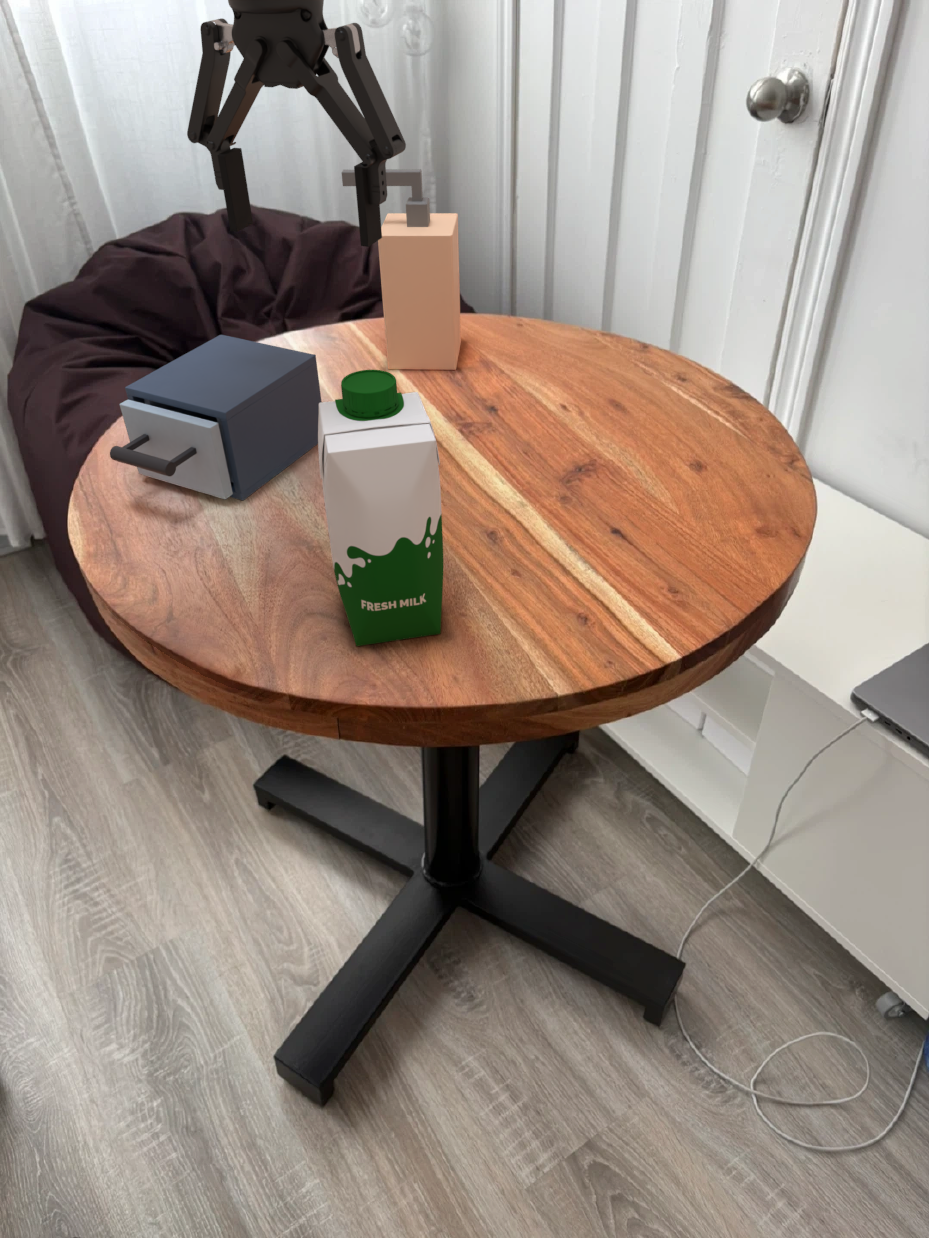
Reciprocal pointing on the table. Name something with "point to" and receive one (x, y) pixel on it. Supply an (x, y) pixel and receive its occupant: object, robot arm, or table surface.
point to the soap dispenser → (419, 280)
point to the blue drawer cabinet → (245, 402)
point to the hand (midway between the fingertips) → (305, 235)
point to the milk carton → (383, 508)
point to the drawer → (176, 447)
